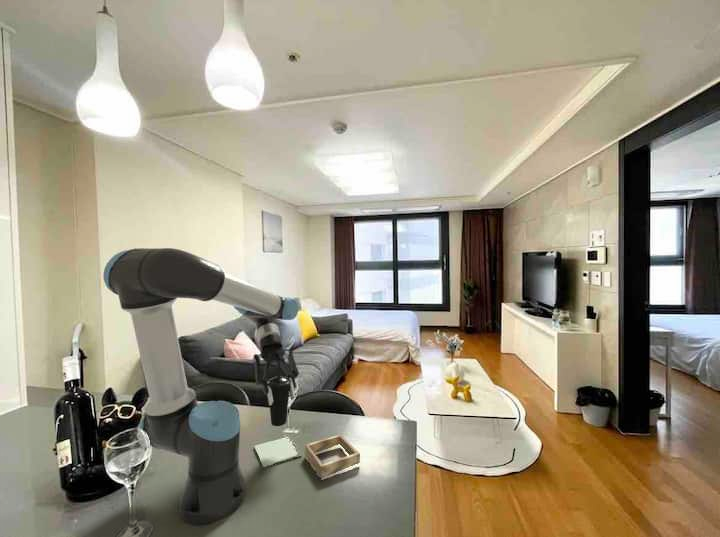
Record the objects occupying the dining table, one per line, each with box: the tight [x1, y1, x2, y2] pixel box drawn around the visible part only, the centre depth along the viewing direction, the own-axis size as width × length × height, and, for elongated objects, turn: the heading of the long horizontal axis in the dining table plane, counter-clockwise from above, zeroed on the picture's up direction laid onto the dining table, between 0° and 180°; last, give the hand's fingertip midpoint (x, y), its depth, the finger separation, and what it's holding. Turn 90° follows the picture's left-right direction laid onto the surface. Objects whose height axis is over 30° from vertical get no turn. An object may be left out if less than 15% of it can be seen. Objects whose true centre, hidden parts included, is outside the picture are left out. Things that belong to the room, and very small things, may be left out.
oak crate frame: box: [304, 434, 361, 479], centre depth 94 cm, size 13×13×4 cm
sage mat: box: [253, 436, 298, 466], centre depth 99 cm, size 12×12×1 cm
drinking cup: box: [267, 361, 291, 427], centre depth 100 cm, size 8×8×20 cm
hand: (282, 400), depth 97 cm, fingers closed on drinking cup, 6 cm apart
